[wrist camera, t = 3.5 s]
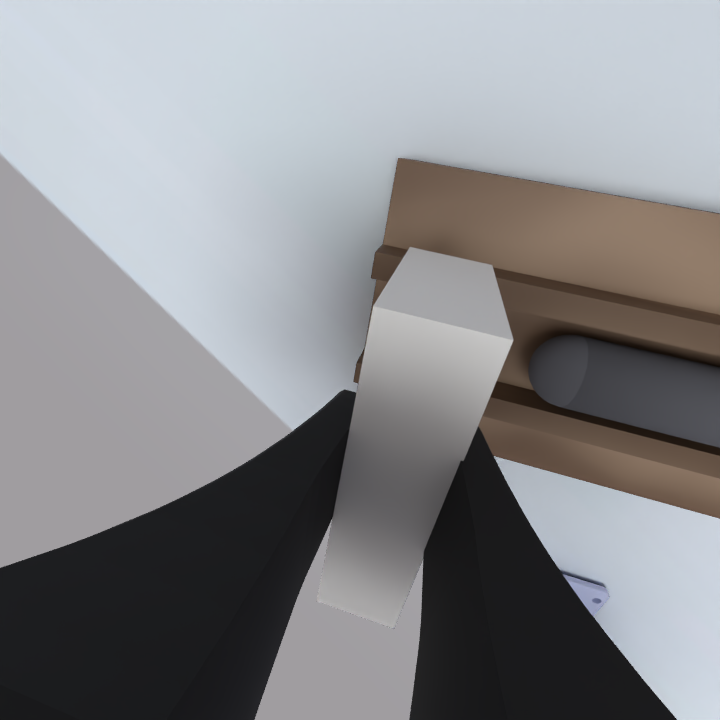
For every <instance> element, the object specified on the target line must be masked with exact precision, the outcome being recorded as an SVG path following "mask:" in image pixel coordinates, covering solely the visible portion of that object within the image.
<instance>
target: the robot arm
mask: <svg viewBox="0 0 720 720" xmlns="http://www.w3.org/2000/svg"><path fill="white" fill-rule="evenodd" d="M355 398H356V393H355V392H352V391H348V390H343V391H341V392H339V393H338V394H337V395H336V396H335V397H334V398H333V399H332V400H331V401H330V402H328V403H327V404H326V405H325V406H324V407H323V408H322V409H320V410H319V411H318V412H317V413H315V414H314V415H313V416H312V417H311V418H309V419H308V420H307V421H305V422H304V423H303V424H301V425H300V426H299V427H298V428H296V429H295V430H294V431H292V432H291V433H290V434H288V435H287V436H286V437H284V438H283V439H281V440H280V441H278V442H277V443H275V444H274V445H272V446H271V447H269V448H268V449H266V450H265V451H264V452H262V453H260V454H259V455H257V456H256V457H254V458H253V459H251V460H249V461H248V462H246V463H244V464H243V465H241V466H239V467H238V468H236V469H234V470H233V471H231V472H229V473H227V474H225V475H224V476H222V477H220V478H218V479H216V480H215V481H213V482H211V483H209V484H207V485H205V486H203V487H201V488H199V489H197V490H195V491H193V492H191V493H189V494H187V495H185V496H183V497H181V498H179V499H177V500H175V501H173V502H171V503H169V504H166V505H164V506H162V507H160V508H158V509H155V510H153V511H151V512H148V513H146V514H144V515H141V516H139V517H136V518H134V519H132V520H129V521H127V522H124V523H122V524H119V525H117V526H115V527H112V528H110V529H107V530H105V531H103V532H100V533H98V534H95V535H93V536H90V537H87V538H85V539H82V540H80V541H77V542H75V543H72V544H69V545H66V546H64V547H60V548H58V549H54V550H52V551H49V552H46V553H43V554H40V555H37V556H34V557H31V558H28V559H25V560H22V561H19V562H16V563H14V564H11V565H8V566H5V567H2V568H0V720H254V719H255V716H256V713H257V710H258V707H259V704H260V701H261V699H262V695H263V693H264V690H265V687H266V684H267V681H268V678H269V676H270V673H271V670H272V667H273V664H274V661H275V658H276V656H277V653H278V650H279V647H280V644H281V641H282V639H283V636H284V633H285V630H286V627H287V624H288V622H289V619H290V616H291V613H292V610H293V607H294V605H295V602H296V599H297V597H298V594H299V591H300V589H301V587H302V584H303V582H304V579H305V577H306V575H307V573H308V570H309V568H310V566H311V564H312V561H313V559H314V557H315V555H316V553H317V551H318V548H319V546H320V544H321V542H322V540H323V537H324V535H325V533H326V531H327V528H328V526H329V524H330V522H331V520H332V518H333V513H334V508H335V503H336V498H337V492H338V487H339V482H340V477H341V471H342V466H343V461H344V456H345V451H346V445H347V440H348V435H349V430H350V424H351V419H352V414H353V409H354V404H355ZM609 597H610V596H609V593H608V590H607V589H606V588H605V587H602V586H599V585H596V584H593V583H590V582H587V581H583V580H580V579H577V578H574V577H571V576H567V575H564V574H562V573H561V572H560V570H559V569H558V567H557V566H556V564H555V563H554V561H553V560H552V558H551V557H550V555H549V554H548V552H547V551H546V549H545V548H544V546H543V544H542V543H541V541H540V539H539V538H538V536H537V535H536V533H535V531H534V530H533V528H532V526H531V525H530V523H529V521H528V520H527V518H526V516H525V515H524V513H523V511H522V509H521V508H520V506H519V504H518V502H517V500H516V498H515V497H514V495H513V493H512V491H511V489H510V487H509V486H508V484H507V482H506V480H505V478H504V476H503V474H502V472H501V470H500V468H499V466H498V464H497V462H496V460H495V458H494V456H493V454H492V452H491V450H490V448H489V446H488V444H487V442H486V439H485V437H484V435H483V433H482V431H481V429H480V428H479V427H477V430H476V432H475V435H474V437H473V440H472V442H471V444H470V447H469V449H468V452H467V454H466V456H465V459H464V461H460V464H459V466H458V469H457V471H456V474H455V476H454V479H453V481H452V483H451V486H450V488H449V491H448V493H447V496H446V498H445V501H444V503H443V505H442V508H441V510H440V513H439V515H438V518H437V520H436V522H435V525H434V527H433V530H432V532H431V535H430V537H429V540H428V542H427V544H426V547H425V549H424V558H423V587H422V613H421V628H420V641H419V650H418V658H417V665H416V673H415V681H414V690H413V697H412V705H411V712H410V720H677V719H676V718H675V717H674V716H673V714H672V713H671V712H670V711H669V710H668V709H667V707H666V706H665V705H664V704H663V703H662V701H661V700H660V699H659V698H658V697H657V696H656V694H655V693H654V692H653V691H652V690H651V688H650V687H649V686H648V685H647V684H646V683H645V681H644V680H643V679H642V678H641V676H640V675H639V674H638V673H637V671H636V670H635V669H634V668H633V666H632V665H631V664H630V663H629V662H628V660H627V659H626V658H625V657H624V655H623V654H622V653H621V652H620V650H619V649H618V648H617V647H616V645H615V644H614V643H613V642H612V640H611V639H610V638H609V637H608V635H607V634H606V633H605V632H604V630H603V629H602V628H601V626H600V625H599V624H598V622H597V621H596V620H595V618H594V617H593V616H594V615H595V613H596V612H597V611H598V610H599V609H600V608H601V607H602V606H603V604H604V603H605V602H606V601H607V600H608V599H609Z"/></svg>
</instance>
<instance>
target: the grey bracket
mask: <svg viewBox="0 0 720 720" xmlns="http://www.w3.org/2000/svg"><path fill="white" fill-rule="evenodd" d="M512 343H513V337H512V333H511V330H510V326H509V322H508V319H507V315H506V312H505V308H504V305H503V301H502V298H501V294H500V291H499V287H498V284H497V280H496V277H495V273H494V270H493V266H492V265H490V264H485V263H481V262H476V261H472V260H467V259H463V258H458V257H454V256H449V255H445V254H440V253H436V252H431V251H426V250H422V249H417V248H413V247H410V248H409V249H408V251H407V253H406V254H405V256H404V257H403V259H402V261H401V262H400V264H399V265H398V267H397V269H396V270H395V272H394V273H393V275H392V277H391V278H390V280H389V281H388V283H387V285H386V286H385V288H384V289H383V291H382V293H381V294H380V296H379V297H378V299H377V301H376V302H375V304H374V305H373V310H372V315H371V320H370V325H369V330H368V336H367V341H366V346H365V351H364V357H363V362H362V367H361V372H360V377H359V383H358V388H357V393H356V398H355V404H354V409H353V414H352V419H351V424H350V430H349V435H348V440H347V445H346V451H345V456H344V461H343V466H342V471H341V477H340V482H339V487H338V492H337V498H336V503H335V508H334V513H333V518H332V524H331V529H330V534H329V539H328V545H327V550H326V555H325V560H324V566H323V571H322V576H321V581H320V586H319V592H318V597H317V602H320V603H323V604H326V605H328V606H331V607H334V608H337V609H339V610H342V611H345V612H348V613H350V614H353V615H356V616H359V617H361V618H364V619H367V620H370V621H373V622H375V623H378V624H381V625H384V626H387V627H389V628H392V629H394V628H395V626H396V623H397V620H398V618H399V616H400V613H401V611H402V609H403V606H404V604H405V602H406V599H407V597H408V594H409V592H410V589H411V587H412V585H413V582H414V580H415V577H416V575H417V572H418V570H419V568H420V565H421V563H422V560H423V558H424V549H425V547H426V544H427V542H428V540H429V537H430V535H431V532H432V530H433V527H434V525H435V522H436V520H437V518H438V515H439V513H440V510H441V508H442V505H443V503H444V501H445V498H446V496H447V493H448V491H449V488H450V486H451V483H452V481H453V479H454V476H455V474H456V471H457V469H458V466H459V464H460V461H464V459H465V456H466V454H467V452H468V449H469V447H470V444H471V442H472V440H473V437H474V435H475V432H476V430H477V427H478V425H479V423H480V420H481V418H482V415H483V413H484V411H485V408H486V406H487V403H488V401H489V398H490V396H491V394H492V391H493V389H494V386H495V384H496V381H497V379H498V377H499V374H500V372H501V369H502V367H503V365H504V362H505V360H506V357H507V355H508V352H509V350H510V348H511V345H512Z"/></svg>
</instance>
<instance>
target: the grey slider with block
mask: <svg viewBox="0 0 720 720" xmlns="http://www.w3.org/2000/svg"><path fill="white" fill-rule="evenodd" d="M528 374H529V380H530V382H531V385H532V387H533V389H534V390H535V391H536V393H537V394H538V395H539V396H540V397H541V398H542V399H544V400H545V401H547V402H548V403H550V404H553V405H555V406H558V407H561V408H565V409H569V410H573V411H577V412H581V413H585V414H589V415H593V416H597V417H601V418H605V419H609V420H613V421H616V422H620V423H624V424H628V425H632V426H636V427H640V428H644V429H648V430H652V431H656V432H660V433H664V434H668V435H672V436H676V437H680V438H684V439H687V440H691V441H695V442H699V443H703V444H707V445H711V446H715V447H719V448H720V367H716V366H712V365H707V364H703V363H699V362H694V361H690V360H685V359H681V358H677V357H672V356H668V355H663V354H659V353H655V352H650V351H646V350H641V349H637V348H632V347H628V346H624V345H619V344H615V343H610V342H606V341H602V340H597V339H593V338H588V337H584V336H579V335H561V336H557V337H554V338H551V339H549V340H547V341H545V342H544V343H543V344H541V345H540V346H539V347H538V348H537V349H536V351H535V352H534V353H533V355H532V357H531V360H530V362H529V368H528Z"/></svg>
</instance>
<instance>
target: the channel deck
mask: <svg viewBox="0 0 720 720" xmlns="http://www.w3.org/2000/svg"><path fill="white" fill-rule="evenodd" d="M410 247H413V248H417V249H422V250H426V251H431V252H436V253H440V254H445V255H449V256H454V257H458V258H463V259H467V260H472V261H476V262H481V263H485V264H490V265H492V266H493V270H494V273H495V277H496V280H497V284H498V287H499V291H500V294H501V298H502V301H503V305H504V308H505V312H506V315H507V319H508V322H509V326H510V330H511V333H512V337H513V343H512V345H511V348H510V350H509V352H508V355H507V357H506V360H505V362H504V365H503V367H502V369H501V372H500V374H499V377H498V379H497V381H496V384H495V386H494V389H493V391H492V394H491V396H490V398H489V401H488V403H487V406H486V408H485V411H484V413H483V415H482V418H481V420H480V423H479V425H478V427H479V428H480V429H481V431H482V433H483V435H484V437H485V439H486V442H487V444H488V446H489V448H490V450H491V452H492V454H493V456H496V457H500V458H504V459H507V460H511V461H514V462H518V463H522V464H525V465H529V466H532V467H536V468H540V469H543V470H547V471H550V472H554V473H558V474H561V475H565V476H568V477H572V478H576V479H579V480H583V481H586V482H590V483H594V484H597V485H601V486H604V487H608V488H612V489H615V490H619V491H623V492H626V493H630V494H633V495H637V496H641V497H644V498H648V499H651V500H655V501H659V502H662V503H666V504H669V505H673V506H677V507H680V508H684V509H687V510H691V511H695V512H698V513H702V514H705V515H709V516H713V517H716V518H720V448H719V447H715V446H711V445H707V444H703V443H699V442H695V441H691V440H687V439H684V438H680V437H676V436H672V435H668V434H664V433H660V432H656V431H652V430H648V429H644V428H640V427H636V426H632V425H628V424H624V423H620V422H616V421H613V420H609V419H605V418H601V417H597V416H593V415H589V414H585V413H581V412H577V411H573V410H569V409H565V408H561V407H558V406H555V405H553V404H550V403H548V402H547V401H545V400H544V399H542V398H541V397H540V396H539V395H538V394H537V393H536V391H535V390H534V389H533V387H532V385H531V382H530V380H529V374H528V368H529V362H530V360H531V357H532V355H533V353H534V352H535V351H536V349H537V348H538V347H539V346H540V345H541V344H543V343H544V342H545V341H547V340H549V339H551V338H554V337H557V336H561V335H579V336H584V337H588V338H593V339H597V340H602V341H606V342H610V343H615V344H619V345H624V346H628V347H632V348H637V349H641V350H646V351H650V352H655V353H659V354H663V355H668V356H672V357H677V358H681V359H685V360H690V361H694V362H699V363H703V364H707V365H712V366H716V367H720V214H719V213H713V212H708V211H702V210H696V209H691V208H685V207H679V206H673V205H668V204H662V203H656V202H651V201H645V200H639V199H634V198H628V197H622V196H616V195H611V194H605V193H599V192H594V191H588V190H582V189H576V188H571V187H565V186H559V185H554V184H548V183H542V182H537V181H531V180H525V179H519V178H514V177H508V176H502V175H497V174H491V173H485V172H479V171H474V170H468V169H462V168H457V167H451V166H445V165H439V164H434V163H428V162H422V161H417V160H411V159H405V158H398V161H397V167H396V173H395V178H394V184H393V190H392V195H391V201H390V207H389V212H388V218H387V224H386V229H385V235H384V241H383V245H382V246H381V247H380V248H379V249H378V250H377V251H376V252H375V257H374V263H373V269H372V275H371V278H372V279H377V280H376V286H375V292H374V297H373V303H372V309H371V314H370V320H371V315H372V310H373V305H374V304H375V302H376V301H377V299H378V297H379V296H380V294H381V293H382V291H383V289H384V288H385V286H386V285H387V283H388V281H389V280H390V278H391V277H392V275H393V273H394V272H395V270H396V269H397V267H398V265H399V264H400V262H401V261H402V259H403V257H404V256H405V254H406V253H407V251H408V249H409V248H410ZM370 320H369V325H370ZM368 330H369V326H368ZM367 336H368V331H367ZM366 341H367V337H366ZM365 346H366V343H365ZM364 351H365V348H364V350H363V352H362V354H361V356H360V357H359V359H358V361H357V364H356V370H355V376H354V382H355V383H359V377H360V372H361V367H362V362H363V357H364Z"/></svg>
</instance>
